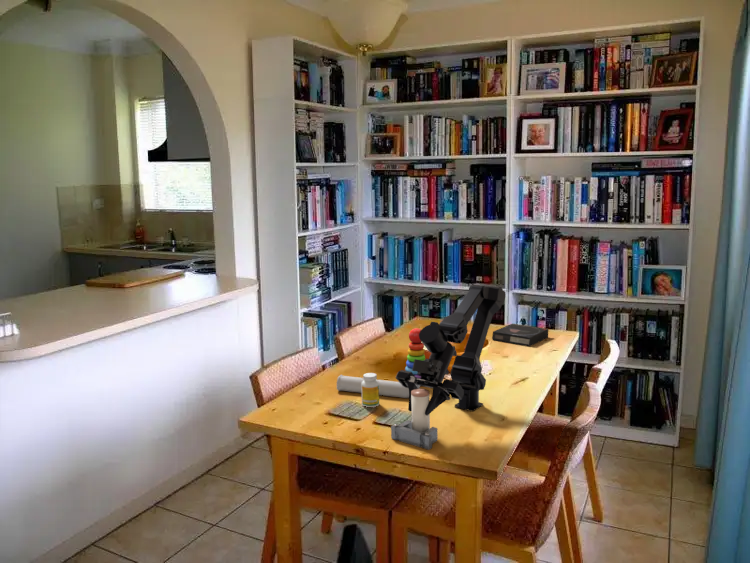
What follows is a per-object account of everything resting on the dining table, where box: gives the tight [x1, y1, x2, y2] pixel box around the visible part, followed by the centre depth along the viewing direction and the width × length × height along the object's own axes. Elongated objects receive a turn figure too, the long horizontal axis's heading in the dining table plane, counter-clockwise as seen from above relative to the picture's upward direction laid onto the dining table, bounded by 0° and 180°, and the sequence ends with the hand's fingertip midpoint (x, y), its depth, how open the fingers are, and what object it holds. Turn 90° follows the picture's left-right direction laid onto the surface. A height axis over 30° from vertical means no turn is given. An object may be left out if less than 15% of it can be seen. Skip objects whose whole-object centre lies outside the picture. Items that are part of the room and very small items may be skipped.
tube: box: [336, 374, 409, 399], centre depth 208 cm, size 5×5×25 cm
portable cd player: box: [491, 323, 549, 347], centre depth 268 cm, size 16×17×4 cm
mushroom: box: [411, 388, 431, 432], centre depth 174 cm, size 5×5×12 cm
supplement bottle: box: [361, 372, 380, 408], centre depth 198 cm, size 5×5×10 cm
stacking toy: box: [404, 327, 426, 378], centre depth 216 cm, size 8×8×19 cm
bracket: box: [390, 419, 439, 450], centre depth 173 cm, size 6×12×4 cm, turn 52°
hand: (417, 412), depth 172 cm, fingers closed on mushroom, 5 cm apart
